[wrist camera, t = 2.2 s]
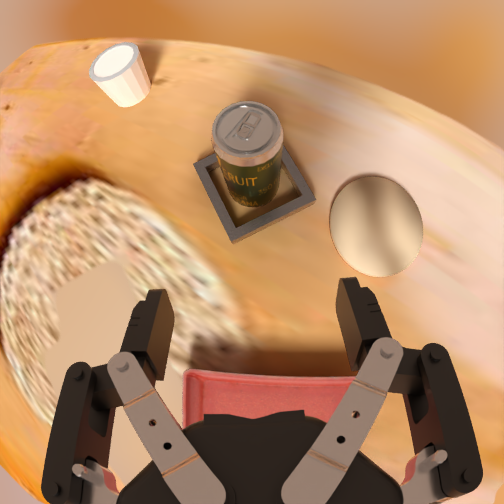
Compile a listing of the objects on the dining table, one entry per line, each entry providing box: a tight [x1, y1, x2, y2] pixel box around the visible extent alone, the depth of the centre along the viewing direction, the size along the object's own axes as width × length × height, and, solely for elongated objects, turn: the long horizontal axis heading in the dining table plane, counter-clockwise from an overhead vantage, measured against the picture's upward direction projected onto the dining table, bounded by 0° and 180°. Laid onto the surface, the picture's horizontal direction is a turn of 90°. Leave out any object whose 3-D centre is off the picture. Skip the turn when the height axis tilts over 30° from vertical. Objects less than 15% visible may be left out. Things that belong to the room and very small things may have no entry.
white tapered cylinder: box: [89, 42, 151, 107], centre depth 32 cm, size 7×7×7 cm
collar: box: [193, 145, 316, 244], centre depth 32 cm, size 10×10×2 cm
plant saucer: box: [182, 369, 356, 429], centre depth 27 cm, size 18×18×3 cm
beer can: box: [211, 101, 283, 207], centre depth 26 cm, size 5×5×12 cm
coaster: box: [329, 177, 423, 277], centre depth 31 cm, size 11×11×1 cm
